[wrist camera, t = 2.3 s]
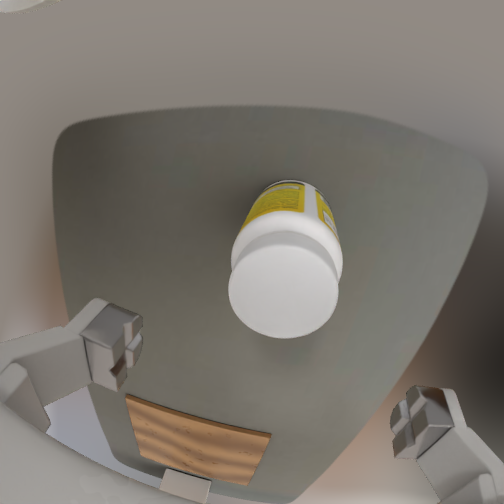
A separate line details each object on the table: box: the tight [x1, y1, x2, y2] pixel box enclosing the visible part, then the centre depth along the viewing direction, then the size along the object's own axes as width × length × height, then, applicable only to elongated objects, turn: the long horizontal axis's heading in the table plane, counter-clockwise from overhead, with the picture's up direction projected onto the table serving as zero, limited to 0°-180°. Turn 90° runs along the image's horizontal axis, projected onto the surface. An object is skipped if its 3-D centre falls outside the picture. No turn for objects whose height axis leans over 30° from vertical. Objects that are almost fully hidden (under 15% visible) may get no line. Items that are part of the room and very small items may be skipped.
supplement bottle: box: [228, 180, 343, 338], centre depth 15 cm, size 5×5×8 cm
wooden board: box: [125, 394, 271, 486], centre depth 32 cm, size 16×16×1 cm
